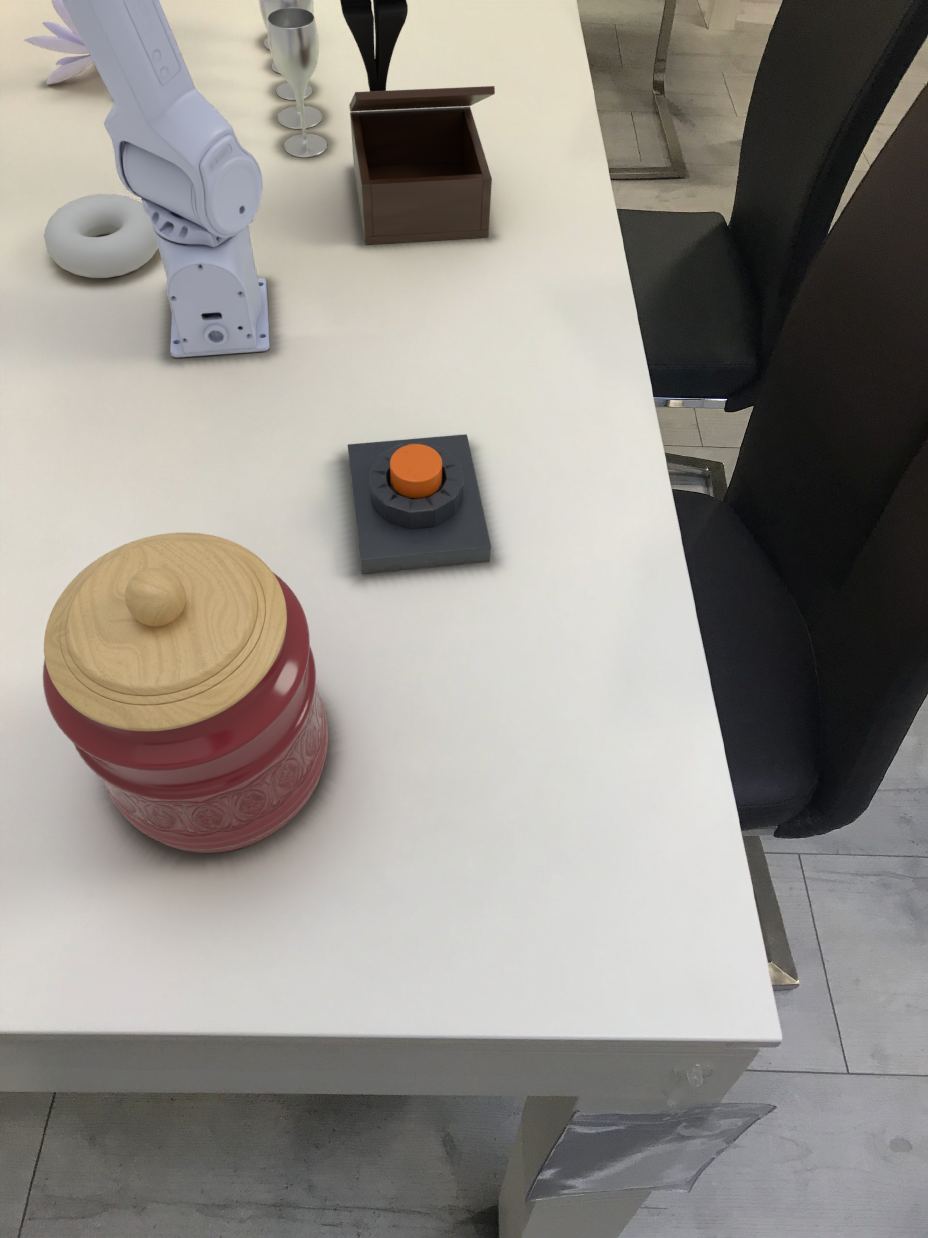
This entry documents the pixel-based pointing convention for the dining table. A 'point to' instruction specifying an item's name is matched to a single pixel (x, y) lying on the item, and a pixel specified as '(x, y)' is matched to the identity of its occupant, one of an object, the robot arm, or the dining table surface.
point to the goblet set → (295, 68)
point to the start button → (416, 471)
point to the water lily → (63, 46)
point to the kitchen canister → (189, 689)
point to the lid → (419, 98)
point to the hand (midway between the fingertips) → (376, 86)
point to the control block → (417, 510)
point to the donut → (106, 255)
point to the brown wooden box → (420, 175)
